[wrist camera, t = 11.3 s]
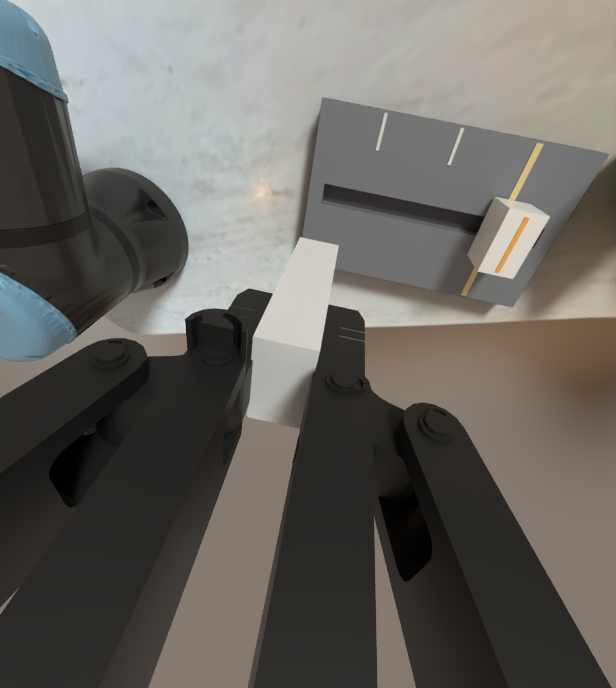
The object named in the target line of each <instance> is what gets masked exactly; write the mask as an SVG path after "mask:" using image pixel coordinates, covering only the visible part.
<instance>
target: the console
mask: <svg viewBox="0 0 616 688" xmlns="http://www.w3.org/2000/svg"><path fill="white" fill-rule="evenodd" d="M608 155H609V154H606V153H602V152H597V151H592V150H587V149H582V148H577V147H572V146H567V145H562V144H557V143H552V142H547V141H542V140H537V139H531V138H526V137H521V136H516V135H511V134H506V133H501V132H496V131H491V130H486V129H481V128H476V127H471V126H465V125H460V124H455V123H450V122H445V121H440V120H435V119H430V118H425V117H420V116H415V115H410V114H405V113H400V112H394V111H389V110H384V109H379V108H374V107H369V106H364V105H359V104H354V103H349V102H344V101H339V100H334V99H328V98H322V104H321V111H320V118H319V125H318V132H317V139H316V145H315V152H314V159H313V166H312V173H311V180H310V187H309V194H308V200H307V207H306V214H305V221H304V228H303V235H302V238H307V239H312V240H316V241H321V242H326V243H330V244H335V245H339V247H338V253H337V258H336V264H335V269H338V270H342V271H347V272H351V273H356V274H361V275H365V276H370V277H374V278H379V279H384V280H388V281H393V282H397V283H402V284H407V285H411V286H416V287H420V288H425V289H430V290H434V291H439V292H444V293H448V294H453V295H457V296H462V297H467V298H471V299H476V300H480V301H485V302H490V303H494V304H499V305H503V306H508V307H513V306H514V304H515V303H516V301H517V300H518V298H519V296H520V295H521V293H522V292H523V290H524V288H525V287H526V285H527V284H528V282H529V281H530V279H531V277H532V276H533V274H534V273H535V271H536V269H537V268H538V266H539V265H540V263H541V262H542V260H543V258H544V257H545V255H546V254H547V252H548V250H549V249H550V247H551V246H552V244H553V243H554V241H555V239H556V238H557V236H558V235H559V233H560V231H561V230H562V228H563V227H564V225H565V224H566V222H567V220H568V219H569V217H570V216H571V214H572V212H573V211H574V209H575V208H576V206H577V205H578V203H579V201H580V200H581V198H582V197H583V195H584V193H585V192H586V190H587V189H588V187H589V186H590V184H591V182H592V181H593V179H594V178H595V176H596V174H597V173H598V171H599V170H600V168H601V167H602V165H603V163H604V162H605V160H606V159H607V157H608ZM494 197H499V198H504V199H509V200H513V201H518V202H523V203H528V204H531V205H533V206H534V207H536V208H538V209H539V210H541V211H542V212H544V213H545V214H547V215H548V216H550V218H549V220H548V221H547V223H546V225H545V226H544V228H543V230H542V231H541V233H540V235H539V236H538V238H537V240H536V241H535V243H534V245H533V246H532V248H531V250H530V251H529V253H528V255H527V256H526V258H525V260H524V262H523V263H522V265H521V267H520V268H519V270H518V272H517V273H516V275H515V277H514V278H513V279H510V278H506V277H501V276H496V275H492V274H487V273H482V272H478V271H477V270H476V268H475V267H474V265H473V263H472V262H471V260H470V259H469V257H468V255H467V254H468V252H469V250H470V248H471V245H472V243H473V241H474V239H475V237H476V235H477V233H478V231H479V229H480V227H481V224H482V222H483V220H484V218H485V216H486V214H487V212H488V210H489V208H490V206H491V203H492V201H493V199H494Z"/></svg>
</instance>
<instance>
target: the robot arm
mask: <svg viewBox="0 0 616 688" xmlns="http://www.w3.org/2000/svg"><path fill="white" fill-rule="evenodd" d="M67 103H68V97H67V95H66V94H65V93H64V92H63V88H62V85H61V81H60V78H59V74H58V71H57V67H56V63H55V60H54V56H53V52H52V48H51V45H50V43H49V40H48V38H47V36H46V34H45V33H44V31H43V30H42V28H41V27H40V26H39V25H38V23H37V22H36V21H35V20H34V19H33V18H32V17H31V16H30V15H29V14H28V13H26V12H25V11H24V10H22V9H21V8H19V7H18V6H16V5H15V4H13V3H11V2H9V1H7V0H0V358H1V359H5V360H10V361H20V362H27V361H35V360H39V359H42V358H44V357H46V356H48V355H50V354H51V353H53V352H54V351H56V350H57V349H59V348H60V347H62V346H63V345H65V344H67V343H70V342H72V341H74V340H75V338H76V337H78V336H79V335H80V334H81V333H82V332H84V331H85V330H86V329H87V328H89V327H90V326H91V325H92V324H93V323H95V322H96V321H97V320H98V319H100V318H101V317H102V316H103V315H105V314H106V313H107V312H108V311H109V310H111V309H112V308H113V307H114V306H116V305H117V304H118V303H119V302H121V301H122V300H123V299H124V298H125V297H127V296H128V295H129V294H131V293H134V292H139V291H143V290H147V289H152V288H156V287H159V286H162V285H164V284H165V283H167V282H169V281H170V280H171V279H172V278H173V277H175V276H176V275H177V274H178V273H179V272H180V271H181V270H182V268H183V266H184V265H185V262H186V259H187V255H188V237H187V232H186V229H185V226H184V223H183V220H182V218H181V216H180V214H179V212H178V211H177V209H176V207H175V206H174V204H173V203H172V202H171V200H170V199H169V198H168V197H167V195H166V194H165V193H164V192H163V191H162V190H161V189H160V188H159V187H157V186H156V185H155V184H154V183H152V182H151V181H150V180H148V179H147V178H145V177H143V176H142V175H140V174H138V173H135V172H133V171H130V170H126V169H122V168H105V169H101V170H97V171H93V172H90V173H87V174H85V175H83V176H82V174H81V169H80V165H79V161H78V156H77V151H76V147H75V142H74V137H73V132H72V127H71V123H70V118H69V113H68V108H67ZM338 247H339V245H335V244H330V243H326V242H321V241H316V240H312V239H307V238H302V237H300V238H299V240H298V243H297V245H296V247H295V249H294V251H293V253H292V255H291V257H290V259H289V262H288V264H287V266H286V268H285V270H284V272H283V274H282V276H281V278H280V281H279V283H278V285H277V287H276V289H275V291H274V293H273V294H272V293H267V292H263V291H258V290H253V289H247V290H245V291H244V292H242V293H240V294H238V295H237V296H236V298H235V299H234V301H233V302H232V304H231V306H230V307H229V308H228V310H225V309H205V310H201V311H198V312H195V313H192V314H191V315H190V316H189V317H187V318H186V319H185V323H186V336H187V348H188V350H187V351H186V353H185V354H184V355H180V356H159V357H158V356H152V357H151V356H150V357H147V354H146V351H145V349H144V347H143V346H142V345H141V344H139V343H138V342H136V341H133V340H129V339H125V338H123V339H122V338H118V339H115V338H113V339H112V338H111V339H107V340H102V341H98V342H95V343H93V344H91V345H89V346H86V347H85V348H83V349H81V350H79V351H78V352H76V353H74V354H73V355H71V356H69V357H68V358H66V359H64V360H63V361H61V362H59V363H58V364H56V365H54V366H53V367H51V368H50V369H48V370H46V371H44V372H43V373H41V374H39V375H38V376H36V377H34V378H33V379H31V380H29V381H28V382H26V383H25V384H23V385H21V386H19V387H18V388H16V389H14V390H13V391H11V392H10V393H8V394H6V395H4V396H3V397H1V398H0V607H1V606H2V605H3V604H4V603H5V602H6V601H7V599H9V597H10V596H11V595H12V594H13V593H14V592H15V591H16V590H17V589H18V588H19V589H18V590H17V592H16V593H15V595H14V596H13V598H12V599H11V600H10V602H9V603H8V604H7V606H6V607H5V609H4V610H3V612H2V613H1V614H0V688H148V687H149V684H150V681H151V678H152V676H153V673H154V670H155V667H156V665H157V662H158V659H159V656H160V654H161V651H162V648H163V646H164V643H165V640H166V638H167V635H168V632H169V629H170V626H171V624H172V621H173V618H174V616H175V613H176V610H177V608H178V605H179V602H180V599H181V597H182V594H183V591H184V588H185V586H186V583H187V580H188V577H189V575H190V572H191V569H192V566H193V564H194V561H195V558H196V556H197V553H198V550H199V548H200V545H201V542H202V539H203V537H204V534H205V531H206V529H207V526H208V523H209V520H210V518H211V515H212V512H213V509H214V507H215V504H216V501H217V499H218V496H219V493H220V490H221V487H222V485H223V482H224V479H225V477H226V474H227V471H228V469H229V466H230V463H231V460H232V458H233V455H234V452H235V449H236V447H237V444H238V441H239V439H240V436H241V431H242V420H243V418H244V415H245V412H246V409H247V417H250V418H255V419H259V420H264V421H268V422H273V423H277V424H282V425H286V426H291V427H295V428H300V433H299V437H298V441H297V445H296V450H295V454H294V458H293V462H292V463H293V465H292V471H291V475H290V480H289V485H288V490H287V495H286V500H285V505H284V510H283V515H282V520H281V525H280V530H279V535H278V540H277V545H276V550H275V555H274V560H273V565H272V570H271V575H270V580H269V585H268V590H267V595H266V600H265V605H264V609H263V615H262V619H261V625H260V629H259V634H258V639H257V644H256V649H255V654H254V660H253V664H252V670H251V674H250V680H249V684H248V688H377V650H376V649H377V647H376V600H375V549H374V517H375V521H376V525H377V529H378V534H379V537H380V542H381V546H382V550H383V554H384V558H385V562H386V566H387V570H388V574H389V578H390V583H391V586H392V591H393V594H394V599H395V602H396V606H397V611H398V615H399V619H400V623H401V627H402V631H403V636H404V640H405V644H406V648H407V652H408V656H409V660H410V664H411V668H412V672H413V676H414V681H415V685H416V688H611V686H610V684H609V682H608V681H607V679H606V677H605V675H604V673H603V672H602V670H601V668H600V667H599V665H598V663H597V661H596V659H595V658H594V656H593V654H592V652H591V651H590V649H589V647H588V645H587V644H586V642H585V640H584V638H583V636H582V635H581V633H580V631H579V629H578V628H577V626H576V624H575V622H574V621H573V619H572V617H571V615H570V614H569V612H568V610H567V608H566V607H565V605H564V603H563V601H562V600H561V598H560V596H559V594H558V592H557V591H556V589H555V587H554V586H553V584H552V582H551V580H550V578H549V577H548V575H547V573H546V571H545V569H544V568H543V566H542V564H541V562H540V561H539V559H538V557H537V555H536V554H535V552H534V550H533V548H532V547H531V545H530V543H529V541H528V540H527V538H526V536H525V534H524V532H523V531H522V529H521V527H520V525H519V524H518V522H517V520H516V518H515V517H514V515H513V513H512V511H511V510H510V508H509V506H508V504H507V502H506V501H505V499H504V497H503V496H502V494H501V492H500V490H499V488H498V487H497V485H496V483H495V482H494V480H493V478H492V476H491V474H490V472H489V471H488V469H487V467H486V466H485V464H484V462H483V460H482V458H481V457H480V455H479V453H478V451H477V450H476V448H475V446H474V444H473V443H472V441H471V439H470V437H469V435H468V434H467V432H466V430H465V428H464V427H463V426H462V425H461V423H460V422H459V421H458V419H457V418H456V417H454V416H453V415H452V414H450V413H449V412H448V411H447V410H445V409H443V408H440V407H438V406H436V405H433V404H428V403H417V404H413V405H411V406H410V407H408V408H407V409H406V410H403V409H401V408H398V407H396V406H394V405H392V404H390V403H388V402H386V401H385V400H383V399H381V398H380V397H379V396H377V395H376V394H375V393H374V392H373V391H372V390H371V387H370V383H369V381H368V379H367V378H366V377H365V343H364V341H365V334H364V331H365V321H364V319H363V318H362V316H361V315H360V313H359V312H358V311H356V310H351V309H347V308H342V307H337V306H333V305H328V303H329V298H330V292H331V287H332V281H333V275H334V270H335V264H336V258H337V253H338ZM247 407H248V408H247Z"/></svg>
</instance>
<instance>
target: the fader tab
mask: <svg viewBox="0 0 616 688" xmlns="http://www.w3.org/2000/svg"><path fill="white" fill-rule="evenodd" d="M549 218H550V216H548V215H547V214H545V213H544V212H542V211H541V210H539V209H538V208H536V207H534V206H533V205H531V204H528V203H523V202H518V201H513V200H509V199H504V198H499V197H494V199H493V201H492V203H491V206H490V208H489V210H488V212H487V214H486V216H485V218H484V220H483V222H482V224H481V227H480V229H479V231H478V233H477V235H476V237H475V239H474V241H473V243H472V245H471V248H470V250H469V252H468V254H467V255H468V257H469V259H470V260H471V262H472V263H473V265H474V267H475V268H476V270H477V271H478V272H482V273H487V274H492V275H496V276H501V277H506V278H510V279H513V278H514V277H515V275H516V273H517V272H518V270H519V268H520V267H521V265H522V263H523V262H524V260H525V258H526V256H527V255H528V253H529V251H530V250H531V248H532V246H533V245H534V243H535V241H536V240H537V238H538V236H539V235H540V233H541V231H542V230H543V228H544V226H545V225H546V223H547V221H548V220H549Z"/></svg>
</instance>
